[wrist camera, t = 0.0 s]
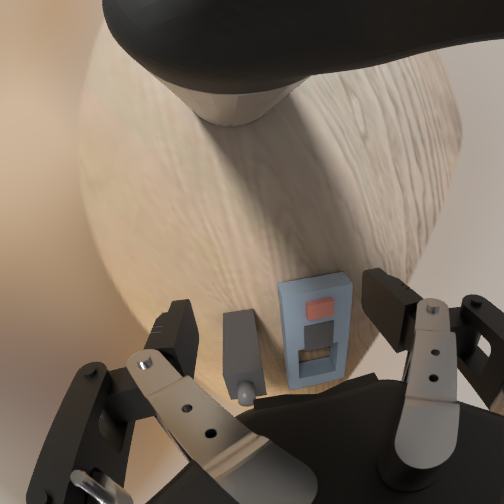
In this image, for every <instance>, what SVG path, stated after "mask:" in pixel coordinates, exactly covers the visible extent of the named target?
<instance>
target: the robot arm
mask: <svg viewBox="0 0 504 504" xmlns="http://www.w3.org/2000/svg"><path fill="white" fill-rule="evenodd" d="M102 6H103V12H104V17H105V20H106V23H107V26H108V28H109V30H110V32H111V34H112V36H113V37H114V39H115V40H116V41H117V42H118V44H119V45H120V46H121V47H122V48H123V49H124V50H125V51H126V52H127V53H128V54H129V55H130V56H131V57H132V58H133V59H134V60H136V61H137V62H138V63H139V64H140V65H142V66H143V67H144V68H145V69H146V70H147V71H149V72H150V73H151V74H152V75H153V76H154V77H156V78H157V79H158V80H159V81H160V82H161V83H163V84H164V85H165V86H166V87H167V88H169V89H170V90H171V91H172V92H173V93H174V94H175V95H176V96H177V97H179V98H180V99H181V100H182V101H183V102H184V103H185V104H186V105H187V106H188V107H189V108H190V109H192V110H193V111H194V112H195V113H196V114H197V115H198V116H199V117H201V118H202V119H204V120H206V121H207V122H209V123H212V124H215V125H219V126H226V127H234V126H241V125H245V124H249V123H251V122H253V121H255V120H257V119H259V118H261V116H263V115H264V114H265V113H266V112H268V111H269V110H270V109H271V108H273V107H274V106H275V105H276V104H277V103H278V102H280V101H281V100H282V99H283V98H284V97H285V96H287V95H288V94H289V93H290V92H292V91H293V90H294V89H295V88H296V87H298V86H299V85H300V84H301V83H303V82H304V81H305V80H306V79H307V78H309V77H310V76H311V75H317V74H324V73H333V72H341V71H348V70H355V69H361V68H366V67H372V66H376V65H380V64H385V63H388V62H391V61H395V60H399V59H402V58H406V57H409V56H413V55H416V54H420V53H424V52H428V51H432V50H436V49H441V48H446V47H451V46H456V45H462V44H467V43H473V42H480V41H488V40H497V39H504V0H102ZM362 308H363V310H364V312H365V314H366V315H367V316H368V317H369V319H370V320H371V321H372V322H373V324H374V325H375V326H376V327H377V329H378V330H379V331H380V332H381V334H382V335H383V336H384V338H385V339H386V340H387V341H388V343H389V344H390V345H391V346H392V348H393V349H394V350H395V352H396V353H399V352H401V351H404V350H407V351H408V353H407V357H406V362H405V367H404V373H403V377H402V381H397V380H378V378H377V376H376V375H375V373H370V374H367V375H364V376H360V377H357V378H354V379H350V380H347V381H345V382H343V383H341V384H339V385H337V386H334V387H332V388H330V389H328V390H326V391H324V392H322V393H319V394H284V395H278V396H272V397H266V398H259V399H253V403H254V408H253V409H250V410H248V411H245V412H243V413H241V414H239V415H238V416H236V417H233V416H232V415H231V414H230V413H229V412H228V411H227V410H226V409H224V408H223V407H222V406H221V405H220V404H219V403H218V402H217V401H215V400H214V399H213V398H212V397H211V396H210V395H209V394H208V393H207V392H206V391H204V390H203V389H202V388H201V387H200V386H199V385H198V384H197V383H196V382H195V381H194V380H193V379H194V372H195V365H196V358H197V351H198V345H199V333H198V328H197V324H196V321H195V317H194V313H193V310H192V306H191V303H190V300H189V299H185V300H177V301H172V303H171V306H170V308H169V311H168V312H166V313H162V314H161V315H160V316H159V317H158V318H157V319H156V321H155V323H154V325H153V328H152V330H151V333H150V335H149V337H148V340H147V342H146V345H145V347H144V349H143V350H141V351H139V352H137V353H135V354H133V355H132V356H131V357H130V358H129V359H128V361H127V364H126V367H124V368H120V369H116V370H112V371H108V369H107V367H106V366H105V365H104V364H103V363H101V362H91V363H88V364H86V365H84V366H83V367H81V368H80V369H79V370H78V371H77V373H76V375H75V377H74V379H73V381H72V383H71V385H70V387H69V389H68V391H67V393H66V395H65V397H64V399H63V401H62V403H61V405H60V408H59V410H58V412H57V414H56V416H55V418H54V421H53V423H52V425H51V428H50V430H49V432H48V435H47V437H46V440H45V442H44V445H43V447H42V450H41V452H40V455H39V458H38V460H37V463H36V466H35V469H34V472H33V475H32V478H31V481H30V484H29V487H28V491H27V494H26V503H27V504H133V500H132V498H131V496H130V494H129V493H128V492H127V491H126V490H124V489H123V488H124V481H125V475H126V469H127V462H128V456H129V451H130V446H131V441H132V435H133V430H134V425H135V421H136V420H139V419H143V418H147V417H151V416H154V417H155V418H156V420H157V421H158V423H159V424H160V425H161V427H162V428H163V429H164V431H165V432H166V433H167V435H168V436H169V437H170V439H171V440H172V441H173V442H174V444H175V445H176V446H177V448H178V449H179V450H180V452H181V453H182V454H183V456H184V457H185V458H186V459H187V460H188V462H189V463H188V464H187V465H186V466H185V467H184V468H183V469H182V470H181V471H180V472H179V473H178V474H177V475H176V476H175V477H174V478H173V479H172V480H171V481H170V482H169V483H168V484H167V485H166V486H164V487H163V488H162V489H161V490H160V491H159V492H158V493H157V494H156V495H155V496H153V497H152V498H151V499H150V500H149V501H148V502H147V503H145V504H504V313H503V312H502V311H501V310H499V309H498V308H497V307H496V306H494V305H493V304H492V303H491V302H489V301H488V300H487V299H485V298H483V297H482V296H479V295H467V296H465V297H464V298H463V300H462V305H461V307H456V308H448V306H447V304H445V302H443V301H441V300H438V299H433V298H428V299H423V298H422V297H421V296H419V295H418V294H417V293H416V292H414V291H413V290H412V289H410V287H408V286H407V285H405V283H403V282H402V281H401V280H400V279H398V278H395V277H393V276H390V275H388V274H387V273H385V272H384V271H383V270H382V269H380V268H374V269H369V270H365V271H364V272H363V276H362ZM481 335H482V336H483V337H484V338H485V339H486V340H487V341H488V342H489V343H490V346H491V354H490V356H489V357H488V356H487V355H486V354H485V353H484V352H483V351H482V350H481V349H480V348H479V347H478V346H477V345H478V342H479V339H480V336H481ZM457 368H458V369H459V370H460V372H461V373H462V374H463V375H464V377H465V378H466V379H467V380H468V382H469V383H470V384H471V386H472V387H473V388H474V390H475V391H476V392H477V394H478V395H479V396H480V398H481V399H482V400H483V402H484V403H485V405H486V406H487V407H488V409H489V410H490V411H488V410H485V409H481V408H478V407H475V406H471V405H469V404H466V403H463V402H459V401H457V399H456V398H457ZM100 416H101V417H100ZM99 419H100V420H99Z"/></svg>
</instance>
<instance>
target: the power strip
mask: <svg viewBox="0 0 504 504" xmlns="http://www.w3.org/2000/svg"><path fill="white" fill-rule="evenodd" d="M352 291H353V283H352V282H351V280H350V279H349V278H348V277H347V276H346V274H345V273H344V272H338V273H332V274H327V275H321V276H316V277H310V278H305V279H299V280H293V281H287V282H281V283H278V293H279V303H280V313H281V324H282V334H283V345H284V357H285V369H286V377H287V381H288V385H289V390H293V389H298V388H303V387H308V386H313V385H317V384H321V383H326V382H330V381H334V380H338V379H341V378H344V373H345V365H346V358H347V349H348V340H349V330H350V319H351V307H352ZM325 347H330V356H329V357H325V358H321V359H316V360H311V361H307V362H302V363H299V359H298V350H303V349H305V352H307V351H312V350H316V349H321V348H325Z"/></svg>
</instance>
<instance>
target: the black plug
mask: <svg viewBox="0 0 504 504" xmlns="http://www.w3.org/2000/svg"><path fill="white" fill-rule="evenodd" d="M223 377H224V380H225V383H226V386H227V389H228V392H229V395H230V398H231V400H232V399H238V403H239V404H240V405H241V406H246V407H247V406H252V405H254V403H253V399H256V396H263V395H267V394H266V387H265V381H264V375H263V368H262V362H261V356H260V349H259V343H258V336H257V330H256V324H255V318H254V312H253V309H249V310H243V311H236V312H229V313H223Z"/></svg>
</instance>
